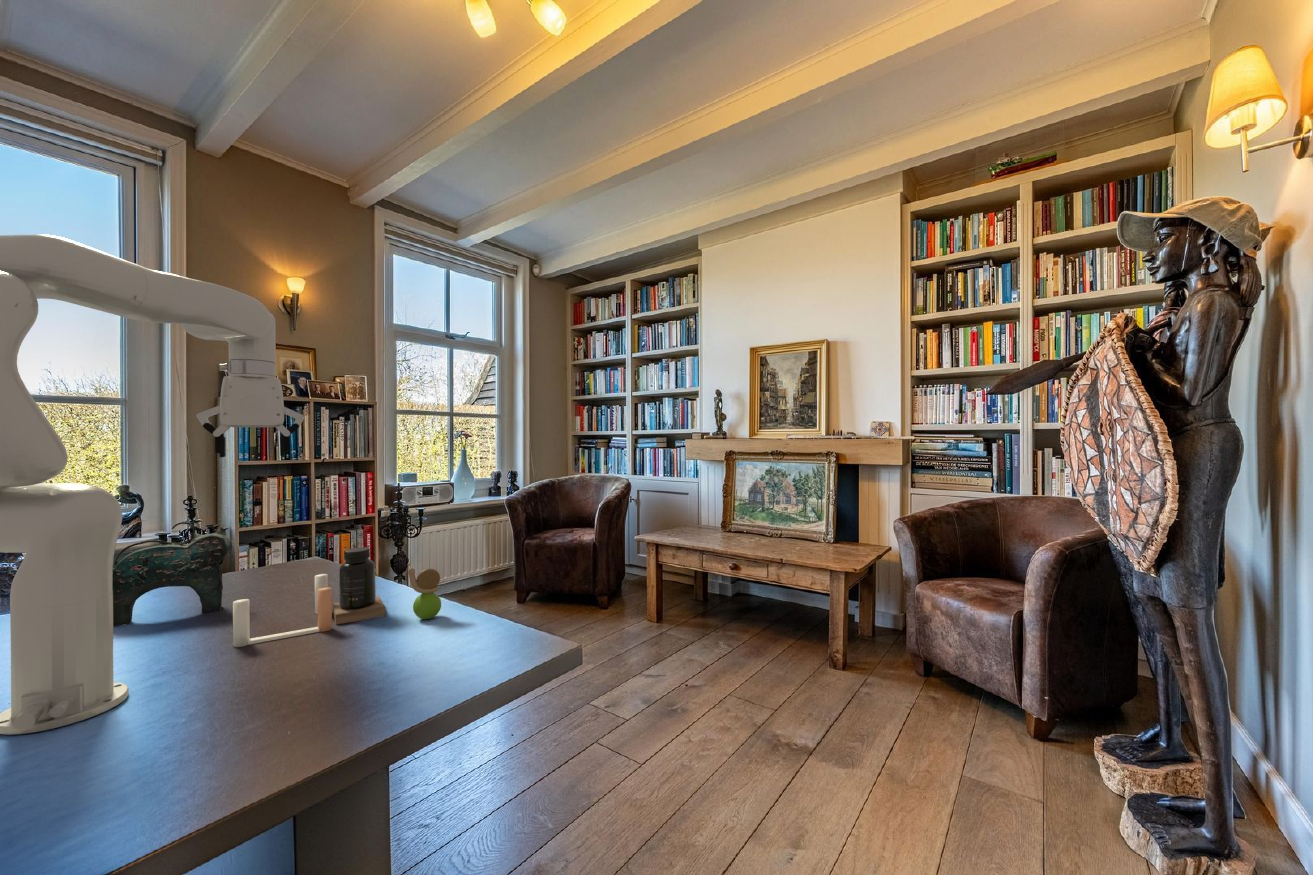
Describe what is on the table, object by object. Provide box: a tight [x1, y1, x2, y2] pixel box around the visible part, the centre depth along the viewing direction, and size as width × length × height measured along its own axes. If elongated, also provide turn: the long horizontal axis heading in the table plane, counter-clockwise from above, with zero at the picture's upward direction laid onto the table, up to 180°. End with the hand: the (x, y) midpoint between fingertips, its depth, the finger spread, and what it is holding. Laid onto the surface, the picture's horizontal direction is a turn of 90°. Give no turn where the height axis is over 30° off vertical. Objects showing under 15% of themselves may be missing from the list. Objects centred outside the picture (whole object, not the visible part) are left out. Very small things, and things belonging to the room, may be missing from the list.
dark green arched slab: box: [113, 521, 232, 628], centre depth 114 cm, size 20×6×20 cm, turn 126°
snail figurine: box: [407, 562, 442, 620], centre depth 111 cm, size 5×6×12 cm
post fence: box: [232, 573, 333, 648], centre depth 107 cm, size 15×15×8 cm
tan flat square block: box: [332, 596, 386, 625], centre depth 114 cm, size 9×9×2 cm
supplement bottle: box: [338, 546, 377, 610], centre depth 114 cm, size 7×7×12 cm
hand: (253, 456), depth 107 cm, fingers open, 9 cm apart
